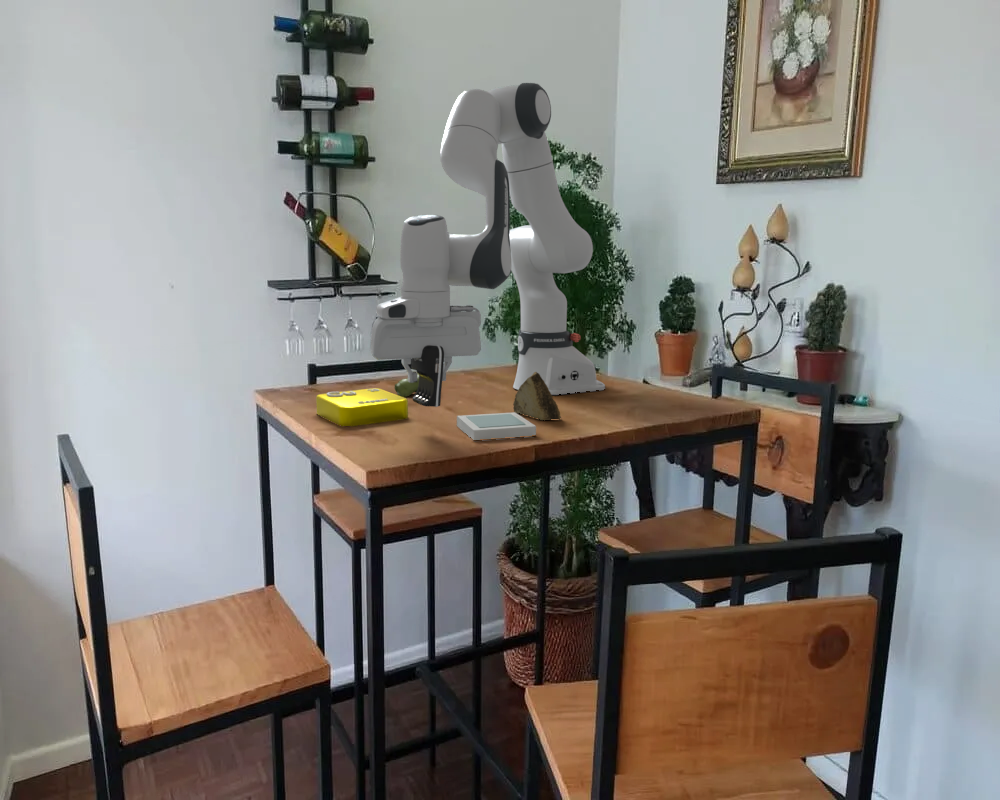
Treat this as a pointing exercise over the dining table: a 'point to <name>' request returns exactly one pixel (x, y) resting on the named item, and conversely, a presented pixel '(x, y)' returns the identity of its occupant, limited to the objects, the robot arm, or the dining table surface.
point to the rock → (536, 399)
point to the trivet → (495, 426)
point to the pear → (406, 387)
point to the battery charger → (429, 375)
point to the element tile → (361, 407)
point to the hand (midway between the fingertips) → (427, 381)
